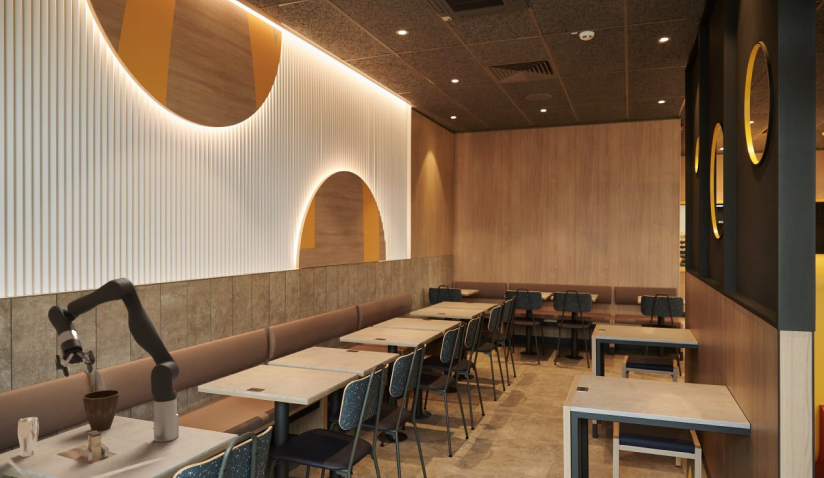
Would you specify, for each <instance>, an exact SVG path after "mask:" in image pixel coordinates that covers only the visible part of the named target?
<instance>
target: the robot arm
mask: <svg viewBox="0 0 824 478" xmlns="http://www.w3.org/2000/svg"><path fill="white" fill-rule="evenodd" d="M113 301H122V302H123V305H124V306H125V308H126V311H127V314H128V315H127V319H128V320H127V321H128V322H127V326H128V330H129V332H130V334H131V336H132V338H133V340H134V341H135V342H136V344H137V345H138V346H139V347H140V348H141V349H143V350H144V351H145V352H146V353H148V354H149V355H150V356H151V358H152V360H153V362H154V363H155V366H154V367H153V368H152V370H151V373H150V387H151V390H150V391H151V395H152V397H153V441H154V442H157V443H165V442H171V441H173V440H175V439H177V438H178V437H179V436H180V430H179V428H180V418H179V416H180V415H179V413H178V409H177V406H178V405H177V403H178V402H177V400H178V399H177V396H178V394H177V391H176V390H174V389H173V381H175V380H176V379H177V378H178V377H179V375H180V367H179V365H178V363H177V362H176V360H175V359H174V358H173V356H172V355H171V354H170V352H169V351H168V349H167V347H166V346H165V344H164V342H163V340H162V338H161V337H160V334H159V333H158V332H157V329H156V327H155V326H154V324H153V322H152V320H151V318H150V317H149V315H148V313H147V312H146V309H145V308H144V306H143V304H142V302H141V299H140V297H139V294H138V293H137V290H136V288H135V285H134V284H133V282H132V281H131V280H130V279H129V278H126V277H119V278H115V279H111V280H108V281H107V282H106V283H104V284H103V285H101V286H100V287H99V288H97V289H95V290H94V291H92V292H90V293H88V294H85V295H83V296H80V297H79V298H76V299H73V300H72V301H70V302H68V304H67V306H63V305H57V304H56V305H53V306H51V307H50V308H49V310H48V311H47V312H48V313H47V317H48V320H49V322H50V324H51V325H52V327H53V328H54V329H55V330H56V334H57V337H58V343H59V346H60V350H61V353H62V355H60V354H56V355H55V358H54V362H55V367H56V370H57V371H58V370H62V373H63V376H64V377H66V378H68V377H69V376H70V372H69V369H68V367H69V366H70V365H73V364H74V365H75V364H82V365H85V366H86V369H87V372H88V374H91V373H92V372H93V370H94V367H93V365H94V364H95V362H96V357H95V356H94V355H95V354H94V352H93V351H92V350H91V349H90V350H88V351H84V349H83V346H82V343H81V339H80V336H79V334H78V332H77V329H76V326H75V324H74V323H73V322H74V321H75V320H76V319H77V318H78V317H80V316H81V315H83V314H85V313H87V312H89V311H92V310H94V309H95V308H96V307H97V306H100V305H102V304H104V303H108V302H109V303H110V302H113ZM62 360H63V361H65V362H64V363H63V364H62V363H61V361H62Z"/></svg>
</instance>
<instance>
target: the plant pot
mask: <svg viewBox="0 0 824 478" xmlns="http://www.w3.org/2000/svg"><path fill="white" fill-rule="evenodd" d="M120 395H121V394H120V390H116V389H105V390H97V391H93V392H91V391H90V392H87V393H85V394H83V395H82V402H83V407H84V412H85V416H86V418H87V421H88V424H89V427H90V429H91V430H92V431H98V432H102V431H103V432H104V431H108V430H109V429H111V427H112V424H113V422H114V419H115V415H116V413H117V409H118V405H119V401H120V400H119V399H120ZM92 431H91V432H92Z"/></svg>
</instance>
